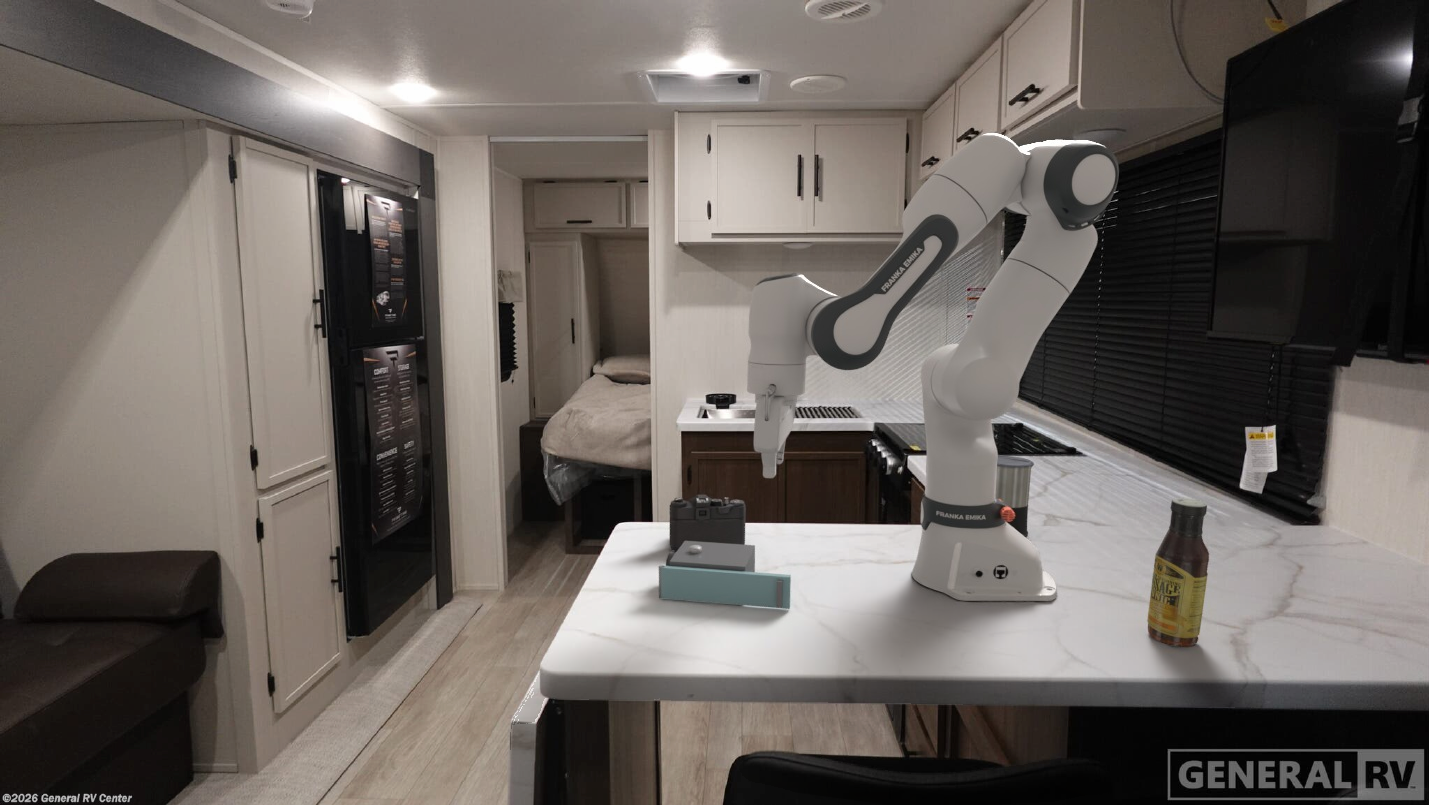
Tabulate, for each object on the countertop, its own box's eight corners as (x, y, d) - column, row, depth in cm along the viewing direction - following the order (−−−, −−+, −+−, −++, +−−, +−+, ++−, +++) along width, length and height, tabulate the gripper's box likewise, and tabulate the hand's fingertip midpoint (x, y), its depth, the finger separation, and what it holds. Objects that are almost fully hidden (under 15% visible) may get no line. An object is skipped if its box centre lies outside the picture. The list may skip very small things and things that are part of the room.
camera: (738, 533, 150) (739, 484, 148) (747, 551, 139) (747, 499, 138) (667, 535, 148) (667, 486, 147) (670, 554, 137) (669, 502, 136)
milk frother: (1023, 526, 154) (1027, 455, 152) (1042, 552, 138) (1047, 474, 136) (951, 522, 156) (954, 453, 154) (962, 547, 141) (966, 471, 139)
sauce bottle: (1136, 630, 106) (1148, 494, 103) (1177, 628, 107) (1190, 493, 104) (1167, 651, 100) (1181, 508, 97) (1211, 650, 100) (1226, 506, 98)
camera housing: (754, 579, 125) (755, 540, 124) (745, 604, 115) (745, 561, 114) (677, 573, 128) (676, 535, 127) (661, 597, 118) (660, 555, 117)
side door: (790, 606, 113) (790, 575, 113) (789, 611, 112) (789, 579, 111) (660, 595, 118) (659, 565, 117) (656, 600, 116) (656, 569, 115)
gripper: (789, 390, 103) (786, 488, 105) (802, 375, 123) (800, 457, 125) (744, 388, 104) (742, 484, 106) (764, 373, 124) (762, 455, 126)
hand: (773, 469), depth 116 cm, fingers open, 8 cm apart
